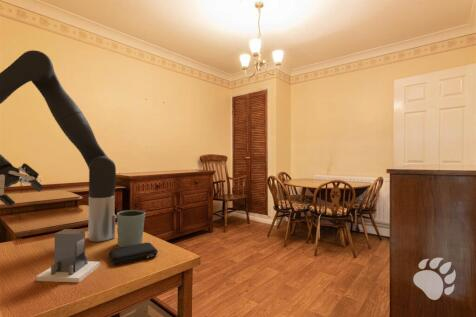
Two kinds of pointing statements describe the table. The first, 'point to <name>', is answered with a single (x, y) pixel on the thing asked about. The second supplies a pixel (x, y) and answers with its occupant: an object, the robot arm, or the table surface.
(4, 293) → the table surface
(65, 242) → the block
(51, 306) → the table surface
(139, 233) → the green cup
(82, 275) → the white peg board
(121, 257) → the carrying case or bag
